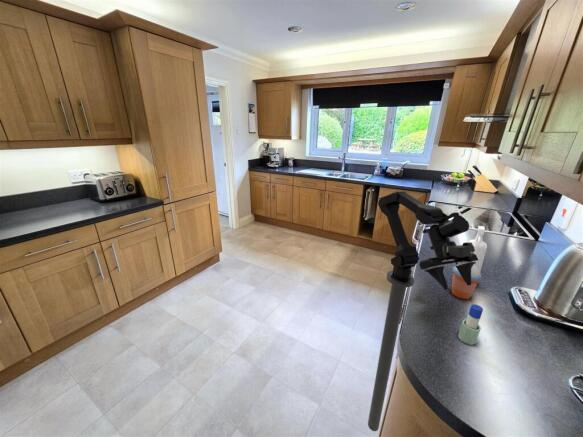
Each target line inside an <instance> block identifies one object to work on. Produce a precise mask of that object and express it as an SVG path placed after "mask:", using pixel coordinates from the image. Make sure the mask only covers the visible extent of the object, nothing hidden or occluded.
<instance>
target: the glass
mask: <svg viewBox="0 0 583 437" xmlns="http://www.w3.org/2000/svg"><path fill="white" fill-rule="evenodd" d="M466 321H467V318H465V319H463V320H462V321H461V325H460V326H459V327H460V328H459V331H458V333H457V334H458V335H457V337H458V338H459V340H460V341H461V342H463V343H465V344H466V345H470V346H471V345H472V346H474V345H476V344H477V342H478V338H479V335H480V332H481V330H482V327H481V326H480V325H479V324H480V323H478V326H477V329H476V330H474V329H471V328H469V327H467V326H466V325H465V324H466Z"/></svg>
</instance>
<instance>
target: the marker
mask: <svg viewBox="0 0 583 437" xmlns="http://www.w3.org/2000/svg"><path fill="white" fill-rule="evenodd" d="M483 312H484V308H483V307H482V306H481V305H478V304H475V303H472V304H471V305H470V308H469V311H468V315H467V318H466V319H467V321H466V324H465V325H466V326H467V327H469V328H471V329H474V330H476V329H477V326H478V324H480V323H479V322H480V320H481V318H482V314H483Z"/></svg>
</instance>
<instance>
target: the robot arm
mask: <svg viewBox="0 0 583 437" xmlns="http://www.w3.org/2000/svg"><path fill="white" fill-rule="evenodd" d="M400 205H402V206H403V207H405V208H406V209H408V210H409V211H411V212H412V213H413V214H414V216H415V218H416V219H417V221H418V222H419V223H421V224H422V225H425V226H424V228H423V230H422V234H427V235H428V238H429V240H430V243H431V246H430V250H431V251H432V250H433V252H434V254H435V256H436V257H429V258H426V259H423V260H420V254H419V252H418V250H417V246H416V245H411V243H409V240H408V237H407V234H406V231H405V229H404V225H403V223H402V220H401V217H400V215H399V210H400V207H401V206H400ZM377 206H378V208H379V210H380V212H381V213H382V214H383V215H384V216H386V219H387V221H388V225H389V227H390V230H391V233H392V237H393V239H394V244H395V245H396V247H395V251H394V255H395V256H394V257H392V258H390V264H391V265H392V266H393V268H392V271H393V273H392V275H390V277H392V278H394V279H396V280H398V281H400V282H402V283H405V282H406V281H408V280H409V279H410V278H411V276H412V272H413V271H412V268H414V267H416V265H417V264H418V263H419V268H420V271H421V270H424V272H425V273H427V274H429V275H430V276H431V277H432V278H433V279H434V280H435V281H436V282H437V283H438V284H439V286H441V287H442V288H443V289H444V290H449V286H448V283H447V280H446V277H445V274H444V269H445V266H444V265H449V264H450V265H451V264H456V265H455V266H456V268H457V270H458V271H459V273H460V274H461V276H462V278H463V279H464V281H465V282H466V284H467V285H468V286H469V285H471V268H472V266H473V265H474V264H475V263H476V262H473V261H477V260H478V258H477V256H476V254H474V253H471V252H474V251H475V249H474V246H473V244H472V243H471V242H469V241H467V242H466V241H465V242H463V243H462V244H460V245H457V244H456V241H454V240H451V238H453V237H455V236H458V235H461V234H463V233H466V232H469V229H470V223H469V221H468V220H467V219H466V218H465V217H464V216H462V215H460V213H459V212H458V211H457V212H452V213H450V214H446V213H444V211H443V209H441V208H440V207H437V206H434V205H432V204H431V205H429V204H426V203H424V202H422V201H421V200H419V199H417V198H416V197H414V196H412V195H410V194H409V193H408V192H407V191H403V190H398V191H394V192H392V193H390V194H387V195H385V196H381V197H380V198H379V199H378V201H377ZM419 260H420V261H419ZM457 265H458V266H457Z"/></svg>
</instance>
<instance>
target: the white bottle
mask: <svg viewBox="0 0 583 437" xmlns="http://www.w3.org/2000/svg"><path fill="white" fill-rule="evenodd" d="M485 231H486V227H485V226H483V225H478V226H477V233H476V235H475V237H474V239H473V238H472V239H470V240H469V241H468V242H471V243H472V244H473V246H474V249H475V251H474V252H471V253H474V254H476V256H477V258H478V260H477V261H473V262H476V263H475V264H474V265H475V266H476V267H477V268H478V269H479V271H480V272H481V270H482V268H483V263H484V259H485V256H486V252H487V249H488V244H487V242H485V241H484V235H485ZM477 285H478V284H477ZM477 285H476V287H477Z"/></svg>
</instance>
